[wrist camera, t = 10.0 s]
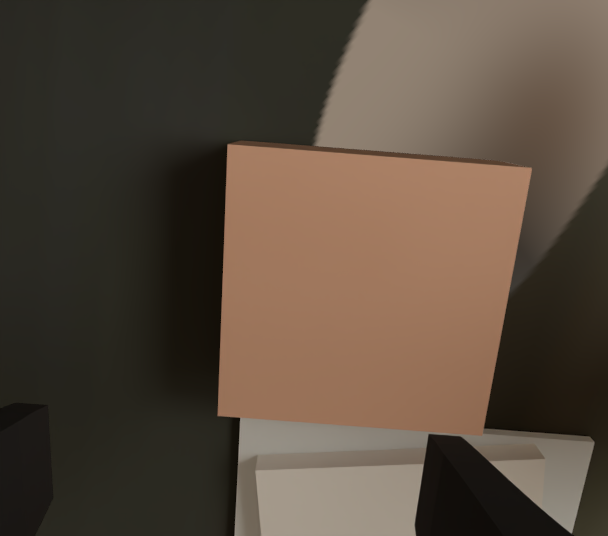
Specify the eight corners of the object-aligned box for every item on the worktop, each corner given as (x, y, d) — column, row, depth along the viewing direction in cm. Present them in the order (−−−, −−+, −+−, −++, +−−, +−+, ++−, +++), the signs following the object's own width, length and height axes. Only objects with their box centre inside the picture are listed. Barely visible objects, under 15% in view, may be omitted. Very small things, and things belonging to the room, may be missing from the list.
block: (498, 160, 19) (531, 167, 16) (459, 392, 21) (482, 435, 18) (240, 140, 19) (227, 144, 16) (230, 375, 21) (217, 415, 18)
